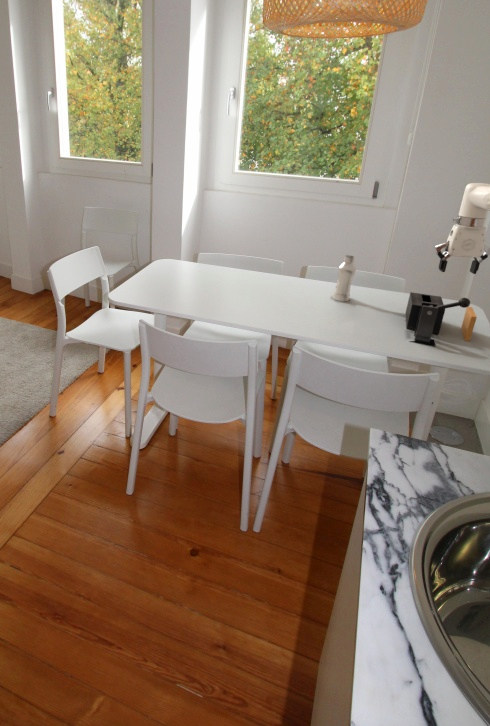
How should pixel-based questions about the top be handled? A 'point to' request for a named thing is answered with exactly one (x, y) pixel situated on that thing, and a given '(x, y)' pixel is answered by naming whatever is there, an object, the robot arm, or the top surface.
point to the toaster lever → (455, 304)
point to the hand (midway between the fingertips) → (457, 271)
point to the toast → (468, 323)
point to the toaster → (414, 310)
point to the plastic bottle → (344, 279)
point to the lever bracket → (425, 324)
